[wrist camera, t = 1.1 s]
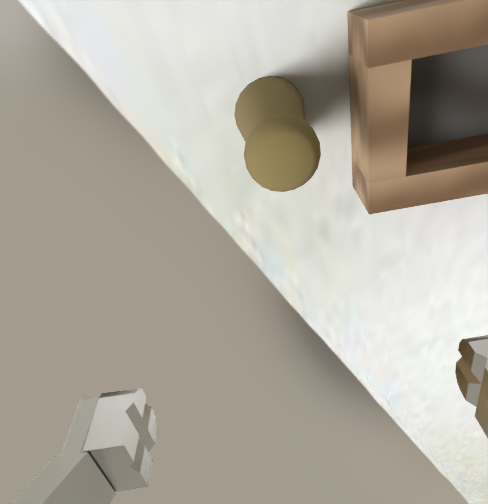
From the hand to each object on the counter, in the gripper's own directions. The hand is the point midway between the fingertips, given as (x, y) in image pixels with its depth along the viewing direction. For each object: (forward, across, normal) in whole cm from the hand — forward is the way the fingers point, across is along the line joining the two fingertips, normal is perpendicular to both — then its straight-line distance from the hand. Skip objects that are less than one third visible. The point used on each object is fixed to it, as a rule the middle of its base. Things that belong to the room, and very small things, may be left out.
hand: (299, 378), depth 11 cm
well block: (+30, -19, +2) cm, 35 cm away
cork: (+30, -2, +1) cm, 30 cm away
